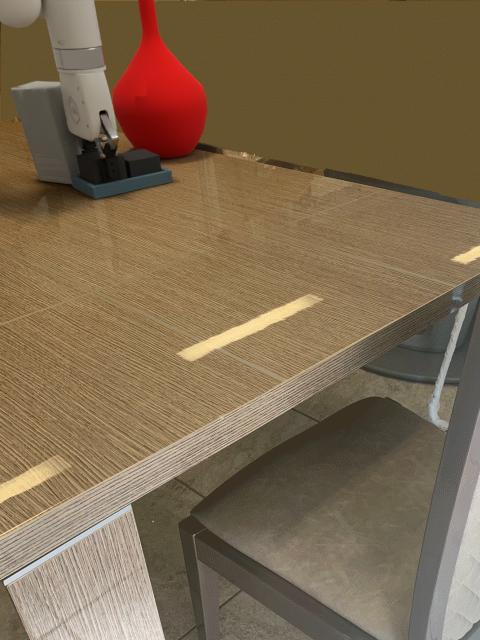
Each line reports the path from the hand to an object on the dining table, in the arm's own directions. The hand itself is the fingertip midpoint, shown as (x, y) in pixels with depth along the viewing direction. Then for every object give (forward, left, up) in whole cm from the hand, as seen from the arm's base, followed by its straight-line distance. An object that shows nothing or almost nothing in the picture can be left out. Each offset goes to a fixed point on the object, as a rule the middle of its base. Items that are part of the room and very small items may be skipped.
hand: (103, 175), depth 112 cm
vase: (+20, +14, -2) cm, 25 cm away
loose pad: (0, 0, -1) cm, 1 cm away
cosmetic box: (-3, +10, -2) cm, 11 cm away
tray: (+3, 0, -2) cm, 4 cm away
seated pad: (+7, 0, -2) cm, 7 cm away
